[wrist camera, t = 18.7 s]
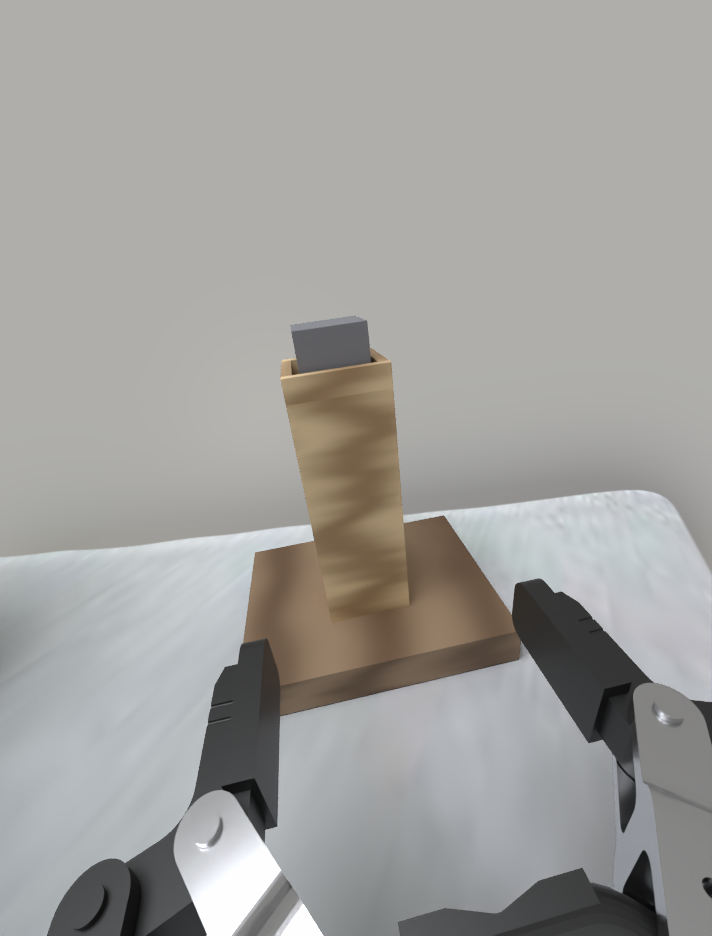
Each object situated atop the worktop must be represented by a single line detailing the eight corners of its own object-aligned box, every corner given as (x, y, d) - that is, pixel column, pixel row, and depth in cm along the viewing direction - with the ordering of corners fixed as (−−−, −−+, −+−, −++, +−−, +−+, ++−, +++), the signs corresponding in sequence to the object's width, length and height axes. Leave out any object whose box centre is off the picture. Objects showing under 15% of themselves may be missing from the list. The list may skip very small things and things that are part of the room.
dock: (248, 723, 21) (236, 695, 20) (262, 575, 31) (255, 552, 30) (518, 659, 22) (522, 630, 21) (444, 539, 33) (443, 515, 32)
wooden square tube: (331, 622, 23) (280, 379, 16) (324, 569, 28) (281, 360, 21) (409, 605, 24) (391, 362, 17) (390, 555, 28) (369, 346, 21)
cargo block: (303, 398, 18) (291, 331, 16) (301, 382, 21) (290, 325, 19) (373, 386, 18) (366, 320, 17) (361, 372, 21) (354, 315, 20)
